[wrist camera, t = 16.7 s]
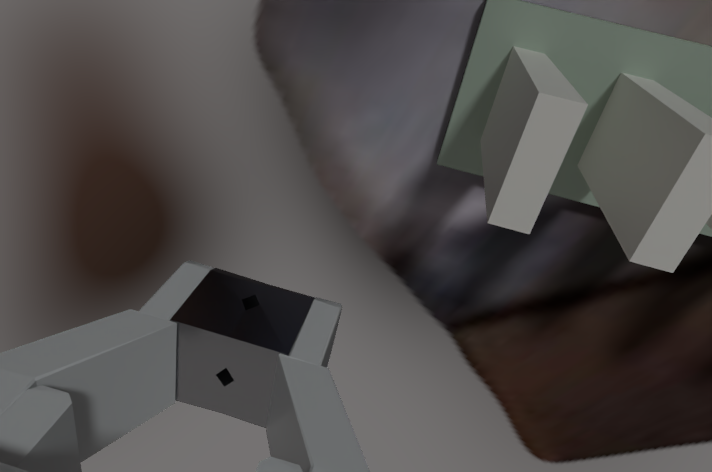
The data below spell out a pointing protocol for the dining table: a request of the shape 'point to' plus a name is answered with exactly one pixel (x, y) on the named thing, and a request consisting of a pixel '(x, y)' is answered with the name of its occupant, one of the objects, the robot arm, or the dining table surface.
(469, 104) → the domino board
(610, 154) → the domino
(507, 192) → the domino
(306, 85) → the dining table surface
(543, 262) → the dining table surface
